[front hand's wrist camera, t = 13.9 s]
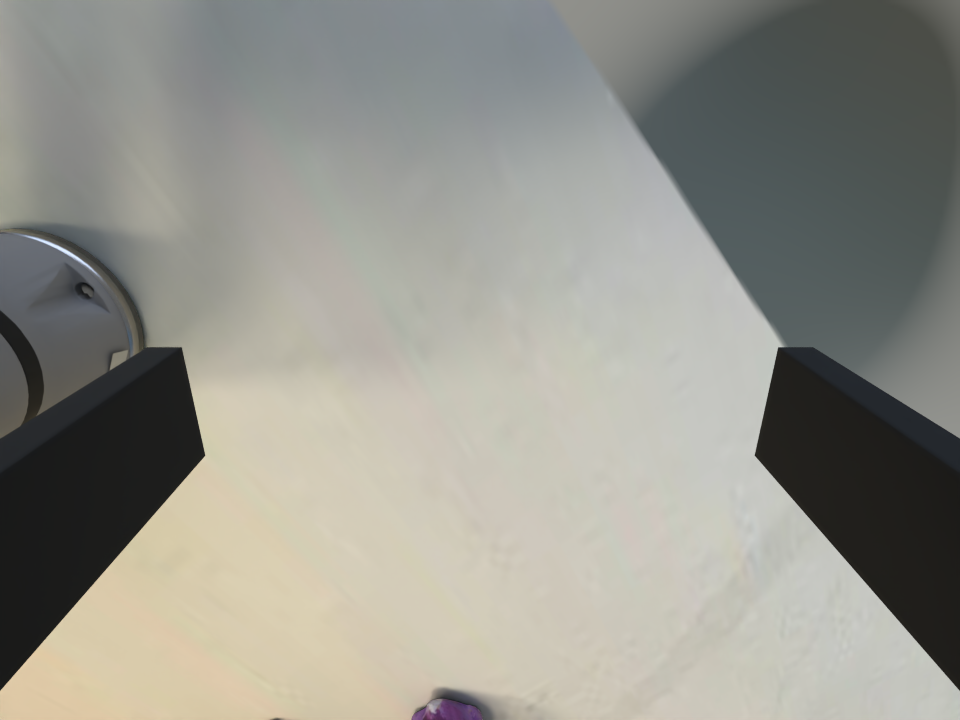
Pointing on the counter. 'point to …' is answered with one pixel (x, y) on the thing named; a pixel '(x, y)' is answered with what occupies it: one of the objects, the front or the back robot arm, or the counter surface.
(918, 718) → the counter surface
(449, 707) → the figurine
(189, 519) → the counter surface
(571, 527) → the counter surface
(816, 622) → the counter surface
